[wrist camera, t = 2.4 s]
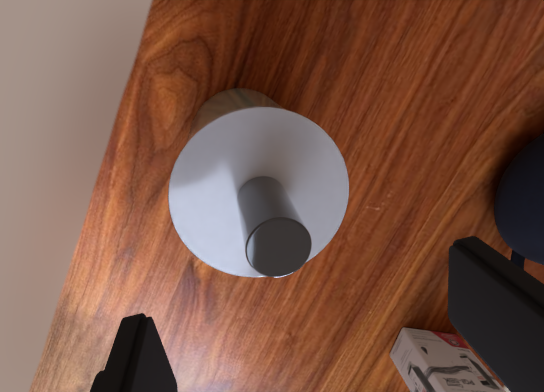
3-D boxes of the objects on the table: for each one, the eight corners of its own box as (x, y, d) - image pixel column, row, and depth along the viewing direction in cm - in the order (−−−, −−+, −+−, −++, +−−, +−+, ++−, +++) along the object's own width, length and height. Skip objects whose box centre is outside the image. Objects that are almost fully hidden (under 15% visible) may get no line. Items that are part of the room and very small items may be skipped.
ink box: (458, 332, 48) (530, 414, 37) (443, 361, 50) (508, 447, 39) (400, 325, 46) (459, 409, 35) (386, 355, 48) (438, 445, 37)
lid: (195, 283, 23) (189, 368, 17) (147, 125, 19) (116, 158, 13) (349, 247, 23) (398, 315, 17) (333, 87, 20) (388, 103, 14)
